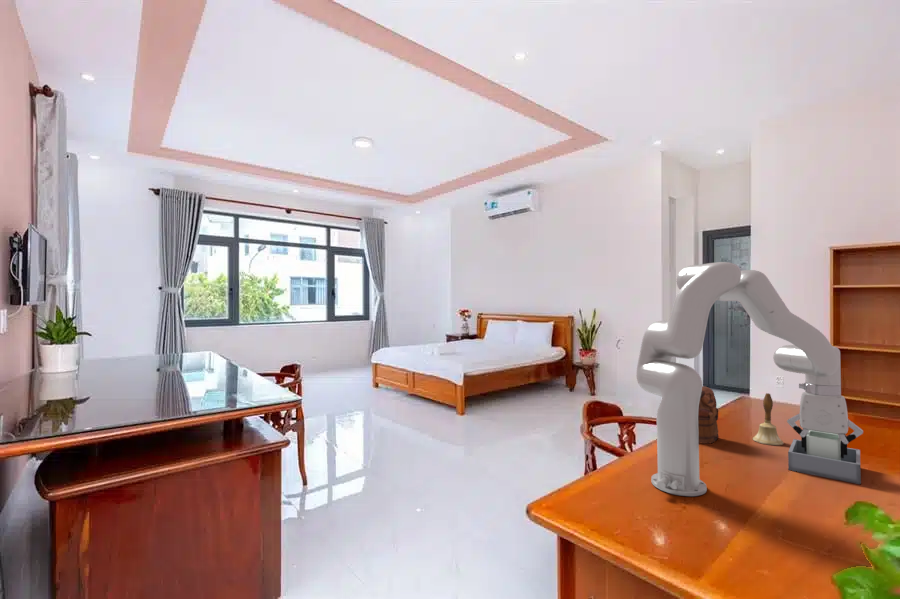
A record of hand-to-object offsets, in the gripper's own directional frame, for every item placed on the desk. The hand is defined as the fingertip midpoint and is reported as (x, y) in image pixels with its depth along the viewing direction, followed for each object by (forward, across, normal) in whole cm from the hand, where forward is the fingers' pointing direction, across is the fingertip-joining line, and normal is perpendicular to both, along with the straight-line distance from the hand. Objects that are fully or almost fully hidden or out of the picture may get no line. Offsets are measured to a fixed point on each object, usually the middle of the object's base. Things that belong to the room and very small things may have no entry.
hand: (823, 453), depth 121 cm
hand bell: (+5, -15, +18) cm, 24 cm away
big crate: (+4, 0, 0) cm, 4 cm away
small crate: (+1, 0, 0) cm, 1 cm away
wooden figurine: (+5, -31, +7) cm, 32 cm away
